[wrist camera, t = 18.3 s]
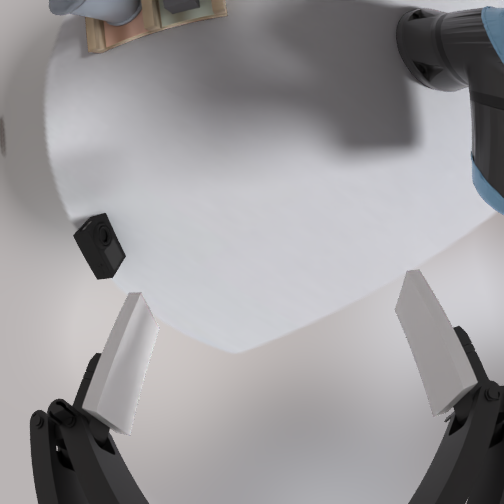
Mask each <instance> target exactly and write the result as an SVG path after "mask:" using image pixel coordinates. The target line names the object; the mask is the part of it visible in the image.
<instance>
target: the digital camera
mask: <svg viewBox="0 0 504 504" xmlns="http://www.w3.org/2000/svg"><path fill="white" fill-rule="evenodd" d="M73 236H74V238H75V240H76V242H77V244H78V246H79V248H80V250H81V252H82V254H83V255H84V257H85V259H86V261H87V263H88V264H89V266H90V268H91V270H92V271H93V273H94V275H95V276H96V278H97V279H107V278H113V276H114V275H115V273H116V272H117V270H118V268H119V267H120V265H121V263H122V262H123V260H124V258H125V257H126V255H125V253H124V251H123V249H122V247H121V245H120V243H119V241H118V239H117V237H116V234H115V232H114V230H113V228H112V226H111V224H110V221H109V219H108V217H107V215H106V213H104V214H100V215H97V216H93V217H90V218H89V219H88V220H87V221H86V222H85V223H84V224H83V225H82V227H81V228H80V229H79V230H78V231H77V232H76V233H75V234H74V235H73Z"/></svg>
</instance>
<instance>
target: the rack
mask: <svg viewBox="0 0 504 504" xmlns="http://www.w3.org/2000/svg"><path fill="white" fill-rule="evenodd" d="M199 3H200V8H195V9H191V10H187V11H183V12H179V13H175V14H172V13H170V12H169V11H168V10H166V9H165V8H164V4H163V0H141V4H142V10H141V12H140V13H139V14H138V16H137V17H136V18H135V19H133V20H132V21H131V22H129V23H127V24H125V25H122V26H113V25H110V24H108V23H107V22H106V21H103V20H99V19H95V18H90V17H85V22H86V34H87V44H88V52H93V53H103V52H105V51H107V50H110V49H112V48H114V47H117V46H119V45H122V44H124V43H127V42H129V41H132V40H135V39H138V38H140V37H143V36H146V35H149V34H152V33H155V32H159V31H162V30H165V29H169V28H172V27H176V26H180V25H184V24H188V23H192V22H197V21H201V20H206V19H212V18H217V17H223V16H227V9H226V2H225V0H199Z"/></svg>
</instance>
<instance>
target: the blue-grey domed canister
mask: <svg viewBox="0 0 504 504" xmlns="http://www.w3.org/2000/svg"><path fill="white" fill-rule="evenodd" d="M49 8H50V11H51V12H52V13H53V14H55V15H66V14H75V15H80V16H85V17H90V18H95V19H99V20H103V21H106V22H107V23H108V24H110V25H113V26H122V25H125V24H127V23H129V22H131V21H132V20H133V19H135V18H136V17H137V16H138V14H139V13H140V12H141V10H142V4H141V0H49Z"/></svg>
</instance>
